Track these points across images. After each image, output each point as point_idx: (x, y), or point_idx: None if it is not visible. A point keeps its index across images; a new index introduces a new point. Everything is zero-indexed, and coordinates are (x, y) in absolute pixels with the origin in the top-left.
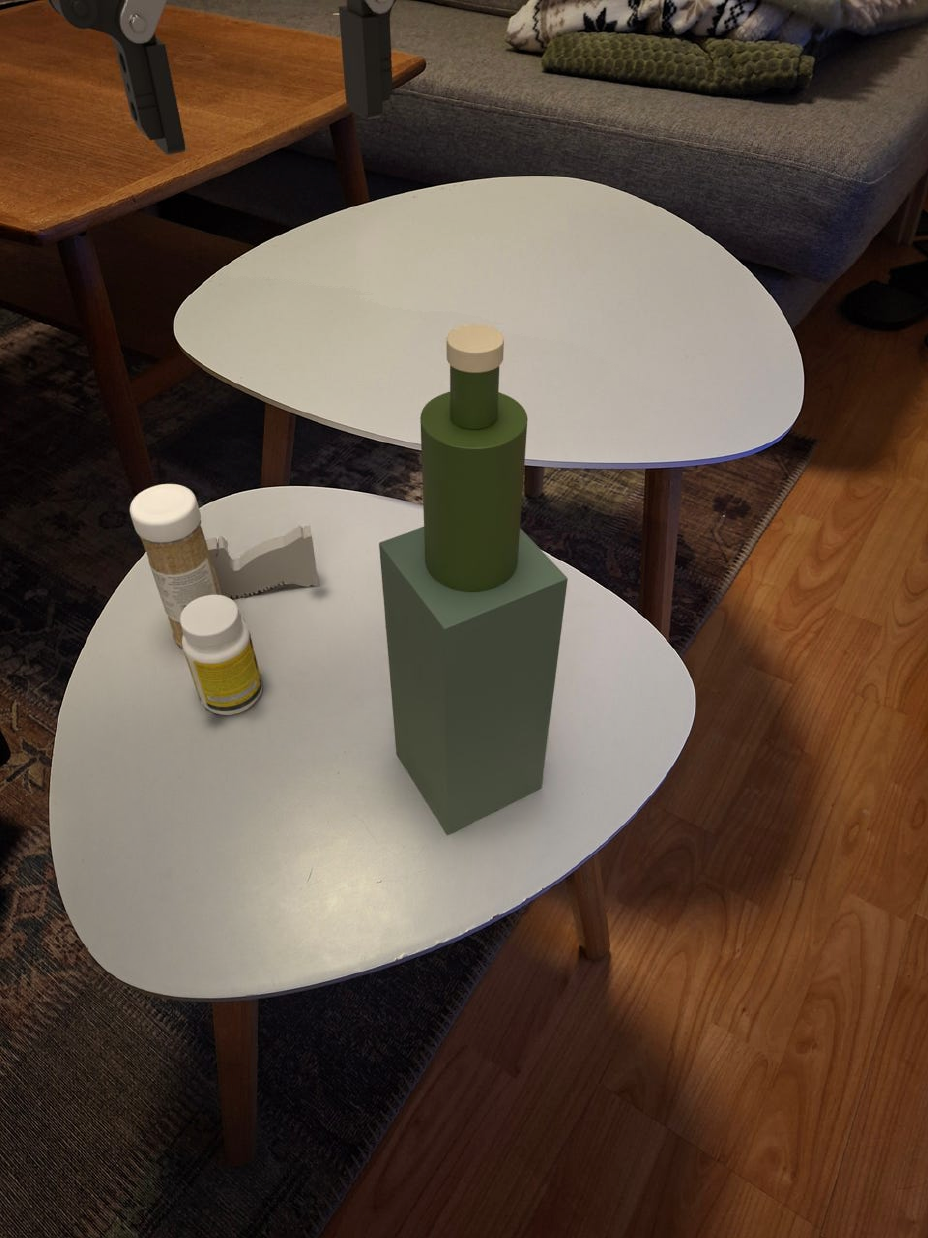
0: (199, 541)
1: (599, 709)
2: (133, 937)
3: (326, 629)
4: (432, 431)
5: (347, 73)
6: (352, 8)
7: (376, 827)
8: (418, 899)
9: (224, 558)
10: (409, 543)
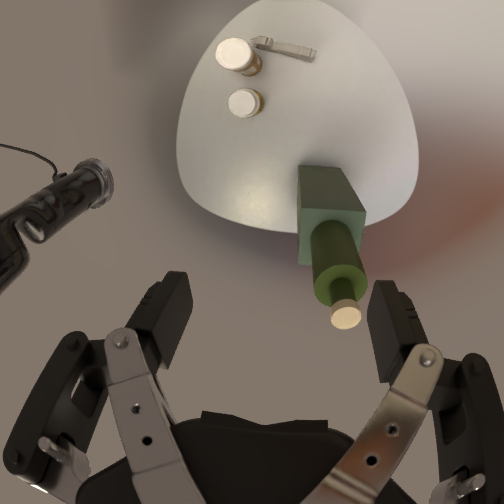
0: (249, 65)
1: (377, 191)
2: (192, 185)
3: (302, 89)
4: (316, 287)
5: (382, 303)
6: (396, 363)
7: (276, 188)
8: (276, 218)
9: (267, 46)
10: (313, 216)
